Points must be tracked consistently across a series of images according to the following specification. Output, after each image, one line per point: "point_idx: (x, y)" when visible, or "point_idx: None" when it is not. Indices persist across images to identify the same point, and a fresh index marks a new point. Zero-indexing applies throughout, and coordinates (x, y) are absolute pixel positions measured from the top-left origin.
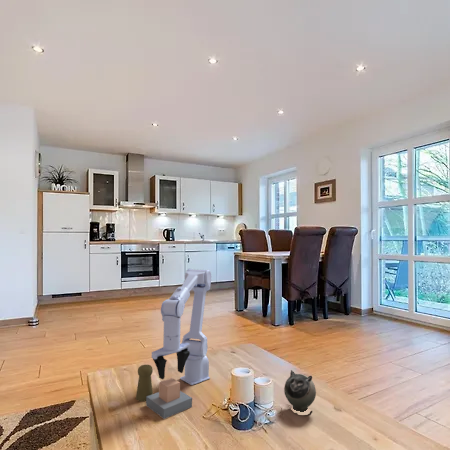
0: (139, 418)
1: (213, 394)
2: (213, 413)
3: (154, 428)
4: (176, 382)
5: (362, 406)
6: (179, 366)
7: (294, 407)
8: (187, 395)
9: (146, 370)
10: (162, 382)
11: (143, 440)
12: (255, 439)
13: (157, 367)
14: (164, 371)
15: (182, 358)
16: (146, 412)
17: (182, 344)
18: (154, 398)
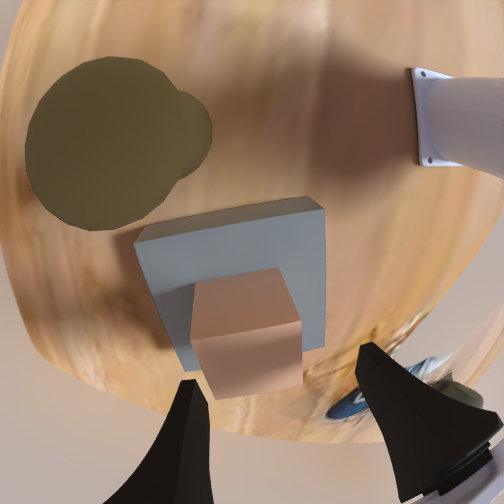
0: (106, 303)
1: (420, 276)
2: (336, 369)
3: (147, 367)
4: (285, 380)
5: (473, 385)
6: (376, 387)
7: (439, 388)
8: (322, 325)
9: (87, 228)
10: (208, 354)
11: (115, 386)
12: (324, 435)
13: (158, 450)
14: (206, 457)
15: (397, 459)
16: (135, 279)
17: (492, 492)
18: (168, 285)
